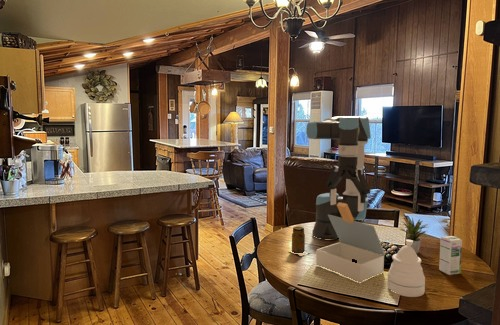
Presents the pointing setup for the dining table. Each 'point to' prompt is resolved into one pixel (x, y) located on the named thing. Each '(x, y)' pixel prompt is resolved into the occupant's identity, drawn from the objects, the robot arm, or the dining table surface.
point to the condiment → (298, 240)
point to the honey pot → (406, 273)
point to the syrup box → (450, 255)
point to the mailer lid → (355, 231)
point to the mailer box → (350, 261)
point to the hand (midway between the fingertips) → (346, 207)
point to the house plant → (414, 233)
